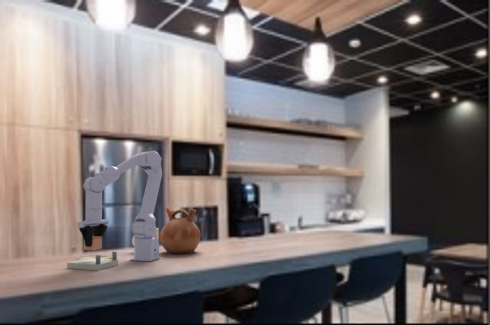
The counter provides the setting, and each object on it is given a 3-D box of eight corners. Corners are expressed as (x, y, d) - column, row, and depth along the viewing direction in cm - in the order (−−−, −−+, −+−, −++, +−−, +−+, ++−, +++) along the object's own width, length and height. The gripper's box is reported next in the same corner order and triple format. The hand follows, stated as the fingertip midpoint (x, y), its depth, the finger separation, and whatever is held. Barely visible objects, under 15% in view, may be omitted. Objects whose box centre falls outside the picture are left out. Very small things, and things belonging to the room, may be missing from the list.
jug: (150, 254, 183) (151, 208, 184) (173, 248, 199) (173, 206, 201) (187, 256, 176) (187, 208, 177) (207, 250, 192) (207, 206, 194)
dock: (118, 264, 158) (118, 251, 158) (98, 270, 147) (98, 256, 148) (88, 263, 163) (88, 250, 163) (67, 268, 152) (67, 254, 153)
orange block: (101, 248, 157) (101, 236, 157) (93, 250, 153) (93, 237, 153) (92, 248, 158) (92, 236, 159) (83, 249, 154) (83, 237, 154)
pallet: (116, 259, 169) (116, 256, 169) (100, 263, 160) (101, 260, 161) (92, 258, 173) (92, 255, 173) (76, 262, 165) (76, 258, 165)
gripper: (98, 207, 165) (97, 242, 164) (71, 209, 151) (70, 247, 150) (113, 208, 162) (112, 243, 161) (86, 209, 148) (86, 248, 148)
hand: (93, 245), depth 155 cm, fingers closed on orange block, 5 cm apart
